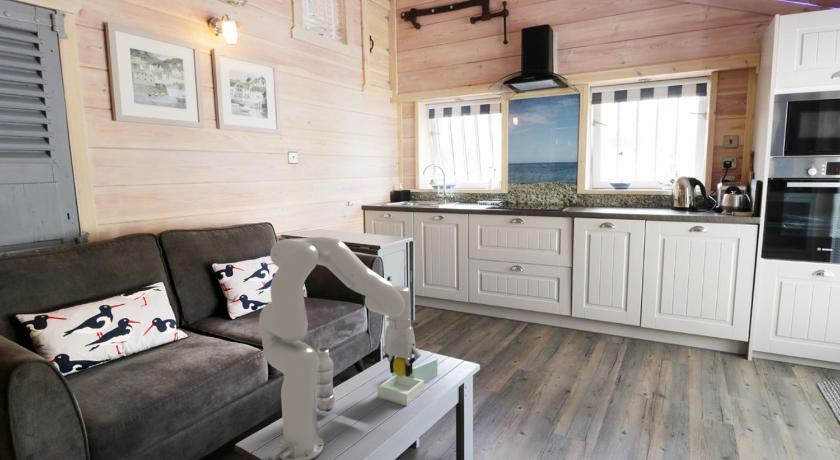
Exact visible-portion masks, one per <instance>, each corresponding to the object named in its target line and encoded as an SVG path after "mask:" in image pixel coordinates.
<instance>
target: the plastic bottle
mask: <svg viewBox="0 0 840 460" xmlns="http://www.w3.org/2000/svg"><path fill="white" fill-rule="evenodd" d="M316 354H317V357H318V367H317V374H316V402H317V411H318V410H319V411H330V410H331V409H333V408H334V406H335V404H336V397H335V392H334V384H333V383H334V381H333V377H334V376H333V375H334V374H333V373H334V362H333V360H332V358H331V357H330V356H329V355H330V349H329V348H328V347H320V348H317V352H316Z"/></svg>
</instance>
